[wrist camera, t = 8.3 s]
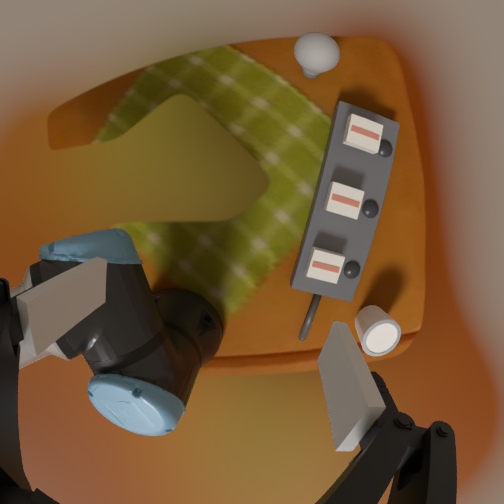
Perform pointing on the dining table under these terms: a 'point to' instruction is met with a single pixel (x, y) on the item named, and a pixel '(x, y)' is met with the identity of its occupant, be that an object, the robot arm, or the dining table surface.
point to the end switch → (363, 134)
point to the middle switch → (343, 200)
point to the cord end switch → (324, 265)
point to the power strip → (338, 226)
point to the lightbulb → (316, 53)
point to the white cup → (376, 330)
